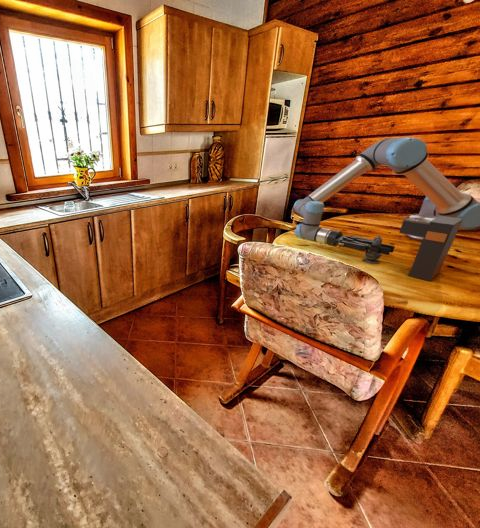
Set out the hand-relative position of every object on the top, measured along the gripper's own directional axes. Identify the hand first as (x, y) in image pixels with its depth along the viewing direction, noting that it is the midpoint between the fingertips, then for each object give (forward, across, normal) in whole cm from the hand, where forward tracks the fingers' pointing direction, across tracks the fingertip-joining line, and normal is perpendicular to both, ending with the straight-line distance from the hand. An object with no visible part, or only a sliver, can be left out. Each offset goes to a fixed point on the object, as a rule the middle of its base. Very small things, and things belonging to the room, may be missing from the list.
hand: (391, 250), depth 116 cm
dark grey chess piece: (-5, 0, -7) cm, 9 cm away
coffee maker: (+8, 0, -7) cm, 10 cm away
